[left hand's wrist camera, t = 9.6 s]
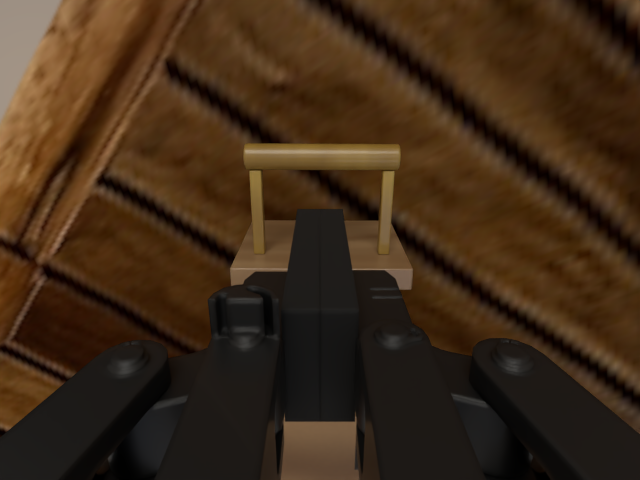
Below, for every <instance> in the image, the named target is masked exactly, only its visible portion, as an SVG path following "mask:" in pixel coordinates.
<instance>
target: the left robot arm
mask: <svg viewBox="0 0 640 480" xmlns="http://www.w3.org/2000/svg"><path fill="white" fill-rule="evenodd" d="M208 306H209V315H210V324H211V334H212V339H211V341H210V343H209V346H208V348H206V349H204V350H201V351H199V352H195V353H191V354H187V355H182V356H177V357H172V358H168V353H167V349H166V348H165V347H164V346H163V345H162V344H160V343H157V342H154V341H151V340H135V341H128V342H124V343H121V344H119V345H116V346H114V347H111V348H109V349H107V350H106V351H104V352H102V353H101V354H99V355H98V356H96V357H95V358H94V359H93V360H92V361H90V362H89V363H88V364H87V365H86V366H85V367H83V368H82V369H81V370H80V371H79V372H77V373H76V374H75V375H74V376H73V377H72V378H70V379H69V380H68V381H67V382H66V383H64V384H63V385H62V386H61V387H60V388H58V389H57V390H56V391H55V392H54V393H53V394H51V395H50V396H49V397H48V398H47V399H45V400H44V401H43V402H42V403H41V404H39V405H38V406H37V407H36V408H35V409H34V410H32V411H31V412H30V413H29V414H28V415H26V416H25V417H24V418H23V419H22V420H20V421H19V422H18V423H17V424H16V425H15V426H13V427H12V428H11V429H10V430H9V431H7V432H6V433H5V434H4V435H3V436H2V437H0V480H281V472H282V461H283V451H284V414H285V422H355V412H356V446H355V470H358V472H359V480H640V434H639V433H637V432H636V431H635V430H634V429H633V428H631V427H630V426H629V425H628V424H627V423H625V422H624V421H623V420H622V419H621V418H619V417H618V416H617V415H616V414H615V413H613V412H612V411H611V410H610V409H609V408H608V407H606V406H605V405H604V404H603V403H602V402H600V401H599V400H598V399H597V398H596V397H594V396H593V395H592V394H591V393H590V392H588V391H587V390H586V389H585V388H584V387H582V386H581V385H580V384H579V383H578V382H576V381H575V380H574V379H573V378H572V377H570V376H569V375H568V374H567V373H566V372H564V371H563V370H562V369H561V368H560V367H558V366H557V365H556V364H555V363H554V362H552V361H551V360H550V359H549V358H548V357H546V356H545V355H544V354H543V353H541V352H540V351H538V350H536V349H535V348H533V347H532V346H529V345H527V344H524V343H522V342H519V341H517V340H512V339H511V340H510V339H506V338H490V339H486V340H483V341H480V342H478V343H477V344H476V345H475V347H474V348H473V353H472V356H467V355H462V354H457V353H452V352H448V351H445V350H441V349H438V348H436V347H434V346H432V345H431V343H430V340H429V338H428V336H427V335H426V334H425V332H424V331H423V330H422V329H421V328H419V327H417V326H416V325H414V324H412V322H411V319H410V316H409V314H408V311H407V308H406V305H405V303H404V300H403V299H402V295H401V292H400V290H399V286H398V284H397V281H396V278H394V277H393V276H392V275H390V274H389V273H388V272H387V271H385V270H352V264H351V258H350V252H349V246H348V240H347V234H346V228H345V222H344V216H343V210H342V209H298V210H297V216H296V222H295V228H294V234H293V240H292V246H291V252H290V258H289V264H288V270H287V271H255V272H254V273H253V274H251V275H250V276H249V277H248V278H246V279H245V280H244V283H243V284H239V285H233V286H230V287H226V288H223V289H221V290H219V291H217V292H215V293H214V294H213V295H212V296H211V297H210V298H209V299H208Z"/></svg>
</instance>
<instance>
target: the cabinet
mask: <svg viewBox="0 0 640 480" xmlns="http://www.w3.org/2000/svg"><path fill="white" fill-rule="evenodd" d="M355 446H356V412H355V422H285V414H284V451H283V461H282V472H281V480H359V472H358V470H355Z"/></svg>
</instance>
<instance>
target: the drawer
mask: <svg viewBox="0 0 640 480" xmlns="http://www.w3.org/2000/svg"><path fill="white" fill-rule="evenodd" d="M243 159H244V166H245V168H246V169H247V170H250V171H249V174H250V192H251V210H252V223H251V225H250V227H249V229H248V231H247V233H246V236H245V238H244V240H243V242H242V244H241V246H240V249H239V251H238V253H237V255H236V257H235V259H234V262H233V264H232V266H231V268H230V275H231V286H233V285H239V284H243V283H244V280H245V279H246V278H248V277H249V276H250V275H251V274H253V273H254V272H255V271H287V270H288V264H289V258H290V252H291V246H292V240H293V234H294V228H295V222H296V220H265V217H264V194H263V172H262V170H381V187H380V205H379V221H344V222H345V228H346V234H347V240H348V246H349V252H350V258H351V264H352V270H385V271H387V272H388V273H389V274H390V275H392V276H393V277H394V278H396V281H397V284H398V286H399V290H411V288H412V277H413V268H412V266H411V264H410V262H409V260H408V258H407V256H406V254H405V252H404V249H403V247H402V245H401V243H400V241H399V239H398V237H397V235H396V233H395V231H394V229H393V226H392V224H391V218H392V203H393V188H394V173H395V172H394V170H398V169H399V166H400V161H401V150H400V146H399V145H398V144H245V146H244V151H243Z"/></svg>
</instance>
